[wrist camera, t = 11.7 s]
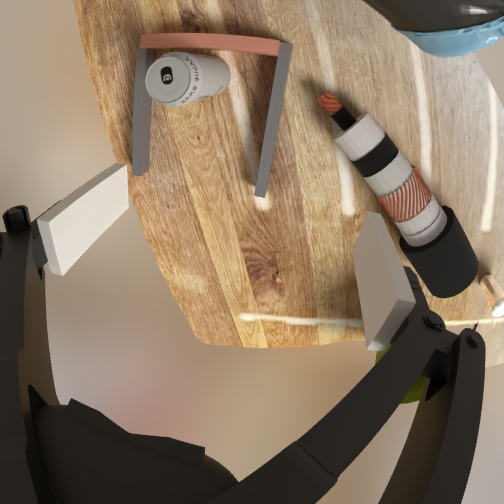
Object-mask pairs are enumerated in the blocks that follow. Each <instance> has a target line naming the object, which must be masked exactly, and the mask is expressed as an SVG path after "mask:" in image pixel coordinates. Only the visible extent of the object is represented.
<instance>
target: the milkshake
mask: <svg viewBox="0 0 504 504" xmlns="http://www.w3.org/2000/svg"><path fill="white" fill-rule="evenodd" d="M480 286H481V288H482V290H483V292H484V295H485V297H486V299H487V302H488V304H489V307H490V309H491V312H492V324H493V315H494V316H496V317H499V316H502V315H504V291H503V290H502V289H501V287H500V286H499V285H498V283H497V282H496V281H495V279H494V278H493V277H492V276H491V275H490V274H488V275H485V276H484V277H483V278H482V279H481V281H480Z"/></svg>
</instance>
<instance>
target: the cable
mask: <svg viewBox="0 0 504 504" xmlns="http://www.w3.org/2000/svg"><path fill="white" fill-rule="evenodd" d="M317 101H318V103H319V104H321V105H322V107H323V108H324V109H326V111H327V112H328V113H329V114H330V115H331V117H332V118H333V119H334V121H335V122H336V123H337V124H338V125H339V126H340V127H341V128H342V130H341V131H340V132H339V133H338V134H337V135H336V136H335V138H334V139H333V140H334V141H335V142H336V143H337V144H338V146H339V147H340V148H341V149H342V150H343V151H344V153H345V154H346V155H347V156H348V157H349V158H350V160H351V162H352V163H353V164H354V166H355V167H356V168H357V169H358V171H359V172H360V173H361V174H362V177H363V178H364V179H365V181H366V182H367V183H368V184H369V186H370V187H371V188H372V190H373V191H374V192H375V193H376V194H375V195H376V196H375V197H376V198H377V199H378V200H379V202H380V203H381V204H382V205H383V207H384V208H385V210H386V211H387V212H388V214H389V215H390V217H391V218H392V220H393V221H394V222H395V224H396V225H397V227H398V228H399V229H400V232H401V238H400V243H399V244H400V247H401V249H402V251H403V252H404V254H405V255H406V257H407V258H408V260H409V261H410V262H411V264H412V265H413V267H414V268H415V270H416V271H417V273H418V274H419V276H420V277H421V279H422V280H423V282H424V283H425V285H426V287H427V288H428V290H429V291H430V292H431V294H432V295H433V296H436V297H438V298H448V297H452V296H455V295H457V294H459V293H461V292H462V291H464V290H465V289H466V288H467V287H468V286H469V285H470V284H471V283H472V282H473V280H474V279H475V277H476V275H477V272H478V260H477V257H476V255H475V253H474V251H473V249H472V247H471V244H470V242H469V240H468V238H467V236H466V234H465V232H464V230H463V229H462V227H461V225H460V223H459V221H458V219H457V217H456V215H455V214H454V212H453V210H452V209H451V208H449V207H447V206H440V205H439V203H438V202H437V201H436V200H435V198H434V196H433V195H432V193H431V192H430V190H429V189H428V187H427V186H426V184H425V183H424V181H423V180H422V178H421V177H420V174H419V172H418V170H417V168H416V167H415V166H413V165H410V163H409V162H408V161H407V159H406V158H405V157H404V155H403V154H402V152H401V151H400V150H399V148H397V147H396V146H395V145H394V143H393V142H392V141H391V139H390V138H389V137H388V135H387V134H386V133H384V132H383V131H382V129H381V128H380V127H379V126H378V125H377V123H376V122H375V121H374V120H373V118H372V117H371V116H370V115H369V114H368V113H367V112H365V113H363V114H361V115H360V116H358V117H357V118H356V119H355V118H354V117H353V116H352V115H351V114H350V112H349V111H348V110H347V109H346V108H345V107H344V106H343V105H341V103H340V102H339V101H338V100H337V99H336V98H335V97H334V96H333V95H332V94H331V93H330V92H329V90H328V91H327V92H326V93H324V95H322V96H321V97H320V98H319V99H318V100H317Z"/></svg>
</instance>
